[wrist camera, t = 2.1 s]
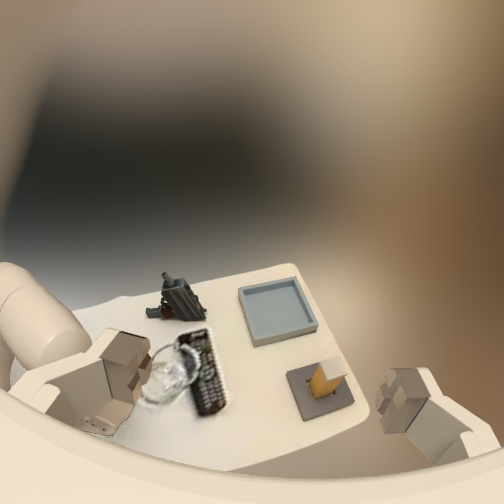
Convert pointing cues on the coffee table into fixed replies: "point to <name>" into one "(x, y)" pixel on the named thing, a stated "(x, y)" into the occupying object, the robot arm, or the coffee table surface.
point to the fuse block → (304, 397)
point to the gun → (177, 301)
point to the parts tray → (276, 311)
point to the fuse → (327, 377)
